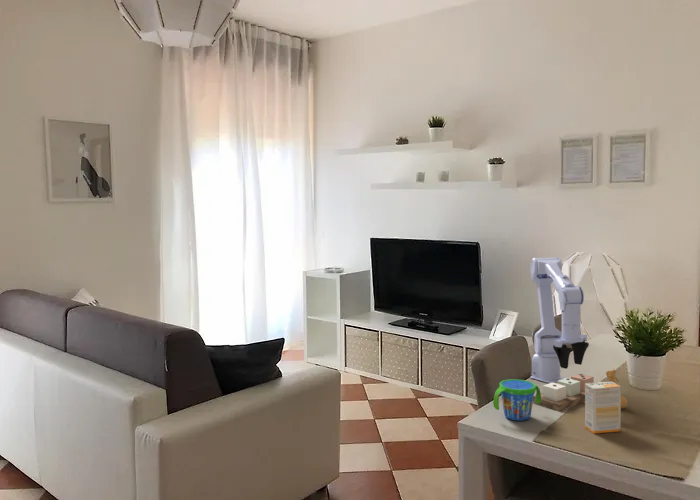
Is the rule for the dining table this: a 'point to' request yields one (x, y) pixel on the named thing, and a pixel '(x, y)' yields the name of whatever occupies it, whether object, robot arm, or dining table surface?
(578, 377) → the tile three
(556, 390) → the tile one
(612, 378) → the figurine
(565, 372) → the dining table surface
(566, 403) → the tile board
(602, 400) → the supplement box
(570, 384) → the tile two
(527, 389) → the snack cup
